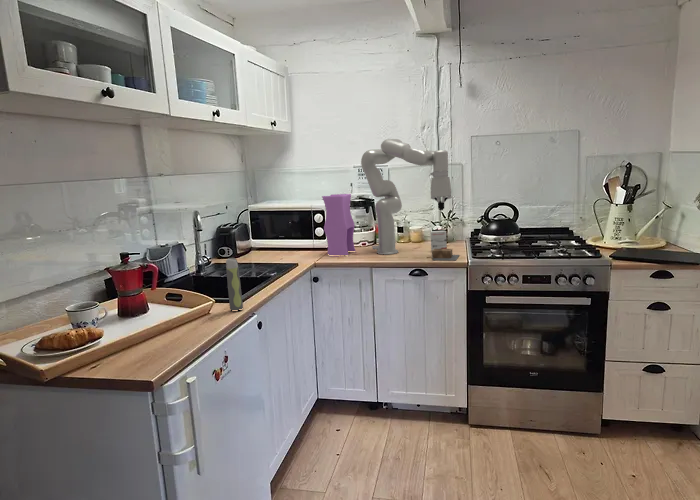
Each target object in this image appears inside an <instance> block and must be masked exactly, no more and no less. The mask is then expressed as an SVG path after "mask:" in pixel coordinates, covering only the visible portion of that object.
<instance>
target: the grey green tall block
mask: <svg viewBox="0 0 700 500" xmlns="http://www.w3.org/2000/svg"><path fill="white" fill-rule="evenodd" d="M225 267H226V279H227V292H228V300H229V301H228V303H229V310H230V309H231V310H239V309H242V308H243V309H244V305H243V295H242V289H241V288H242V286H241V279H240V269H239V263H238V260H237V258H235V257H229V258H226V259H225Z"/></svg>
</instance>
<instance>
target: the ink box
mask: <svg viewBox="0 0 700 500" xmlns="http://www.w3.org/2000/svg"><path fill="white" fill-rule="evenodd" d="M447 241H448V239H447V231H446V230H431V231H430V249H431V250H430V251H431V253H432V250H433V249H448V248H447V247H448V244H447Z"/></svg>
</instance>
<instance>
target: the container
mask: <svg viewBox="0 0 700 500" xmlns="http://www.w3.org/2000/svg"><path fill="white" fill-rule="evenodd" d="M321 198H322V200H323V203H324V207H325V211H326V213H325V214H326V215H325V221H324V226H323V230H324V234H325V237H326V240H327V254H329V255H349V254H350V253H348V251H356V247H355V243H354V232H355V221H354V219H353V217H352V212H351V199H352V193H340V194H338V193H337V194H336V193H335V194H330V195H322V196H321ZM356 252H357V251H356ZM349 256H350V255H349Z"/></svg>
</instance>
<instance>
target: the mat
mask: <svg viewBox="0 0 700 500" xmlns="http://www.w3.org/2000/svg"><path fill="white" fill-rule="evenodd" d="M452 255H453V256H452V257H451V258H432V261H437V262H438V261H446V262H447V261H449V262H451V261H454V262H455V261H457V259H458V258H459V257H460V254H452Z"/></svg>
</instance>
